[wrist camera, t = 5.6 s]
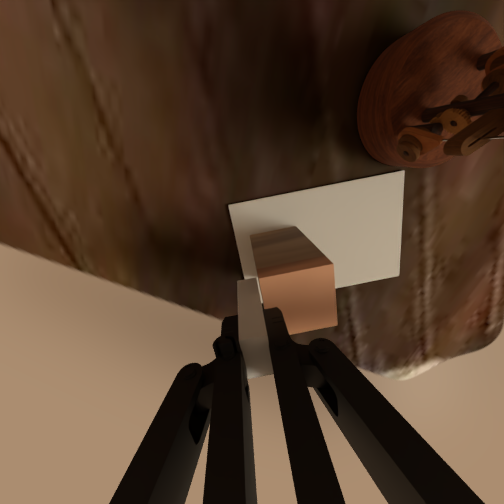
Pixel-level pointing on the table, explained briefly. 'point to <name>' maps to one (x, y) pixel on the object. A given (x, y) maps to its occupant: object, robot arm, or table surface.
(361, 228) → the mat
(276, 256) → the walnut block
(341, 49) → the table surface
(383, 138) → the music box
